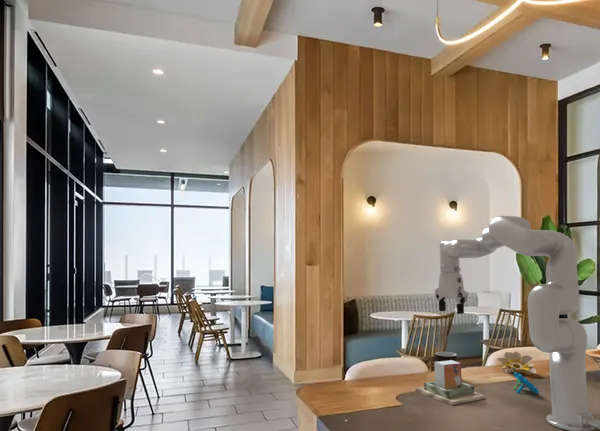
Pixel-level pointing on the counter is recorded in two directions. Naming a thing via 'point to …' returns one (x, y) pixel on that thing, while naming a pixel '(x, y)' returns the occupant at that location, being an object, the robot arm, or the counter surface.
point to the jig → (450, 393)
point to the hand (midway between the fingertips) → (451, 312)
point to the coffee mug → (445, 356)
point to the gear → (524, 384)
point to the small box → (448, 374)
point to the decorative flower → (517, 363)
